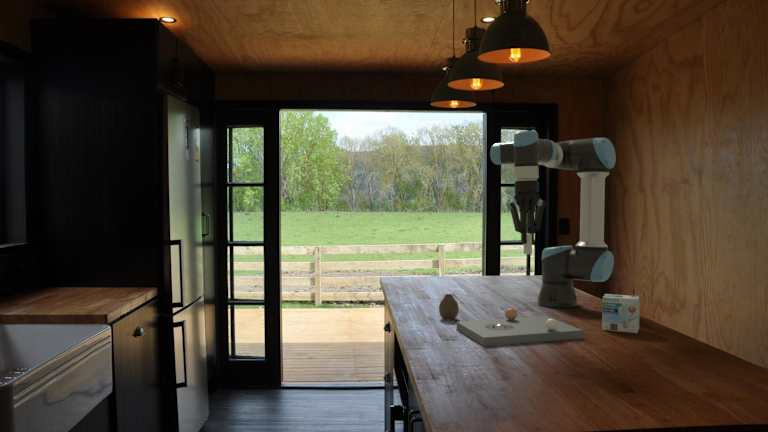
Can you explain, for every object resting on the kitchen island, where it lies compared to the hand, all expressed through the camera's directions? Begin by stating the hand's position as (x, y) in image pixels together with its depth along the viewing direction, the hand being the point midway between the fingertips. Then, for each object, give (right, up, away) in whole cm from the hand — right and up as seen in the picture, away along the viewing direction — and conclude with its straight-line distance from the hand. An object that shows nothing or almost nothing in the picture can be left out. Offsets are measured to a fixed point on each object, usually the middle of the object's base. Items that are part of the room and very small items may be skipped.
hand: (527, 253), depth 183 cm
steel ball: (-10, -23, -5) cm, 26 cm away
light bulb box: (+30, -25, 0) cm, 39 cm away
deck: (-4, -25, -4) cm, 26 cm away
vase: (-23, -25, +19) cm, 39 cm away
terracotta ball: (-4, -20, +5) cm, 21 cm away
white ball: (+4, -21, -11) cm, 24 cm away
